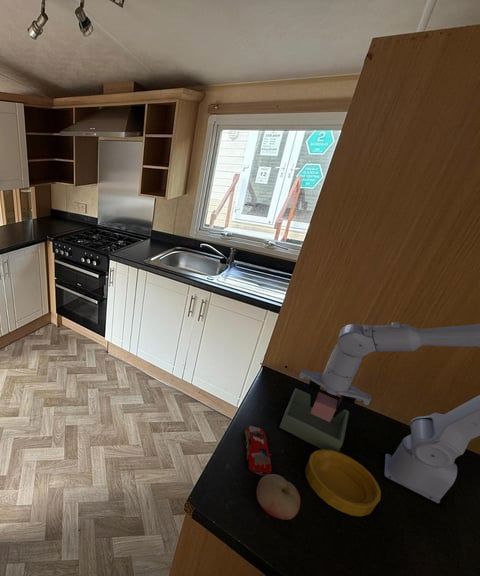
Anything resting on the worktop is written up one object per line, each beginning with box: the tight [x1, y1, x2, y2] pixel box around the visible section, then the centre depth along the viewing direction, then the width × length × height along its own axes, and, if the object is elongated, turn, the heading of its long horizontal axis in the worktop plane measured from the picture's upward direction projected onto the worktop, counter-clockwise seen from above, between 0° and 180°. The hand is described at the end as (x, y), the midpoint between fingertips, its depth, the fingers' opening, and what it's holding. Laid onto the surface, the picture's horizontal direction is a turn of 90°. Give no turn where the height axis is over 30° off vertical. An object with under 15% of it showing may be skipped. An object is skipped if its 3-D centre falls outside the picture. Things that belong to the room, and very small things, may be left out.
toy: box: [311, 391, 339, 422], centre depth 82 cm, size 4×4×4 cm
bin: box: [279, 387, 350, 452], centre depth 86 cm, size 13×13×6 cm
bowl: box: [304, 449, 382, 517], centre depth 72 cm, size 13×13×4 cm
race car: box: [243, 425, 273, 477], centre depth 79 cm, size 13×5×4 cm, turn 161°
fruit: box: [256, 473, 301, 521], centre depth 67 cm, size 8×8×8 cm
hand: (322, 409), depth 82 cm, fingers closed on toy, 4 cm apart
